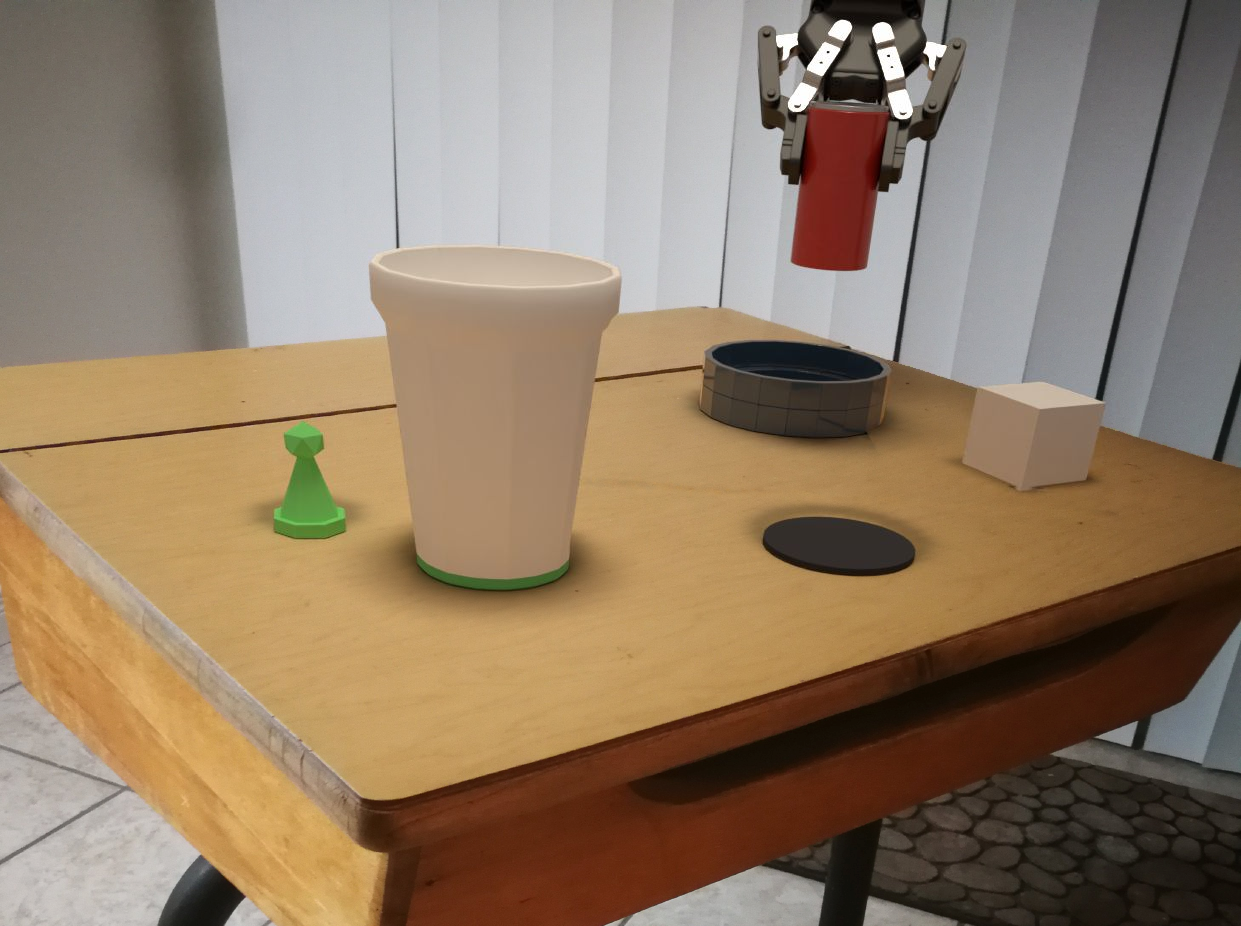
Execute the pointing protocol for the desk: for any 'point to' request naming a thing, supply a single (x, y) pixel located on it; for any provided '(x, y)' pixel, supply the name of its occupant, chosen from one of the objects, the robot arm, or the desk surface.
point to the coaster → (838, 545)
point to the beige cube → (1032, 434)
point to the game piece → (307, 491)
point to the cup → (493, 400)
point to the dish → (794, 388)
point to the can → (839, 185)
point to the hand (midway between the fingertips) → (839, 178)
